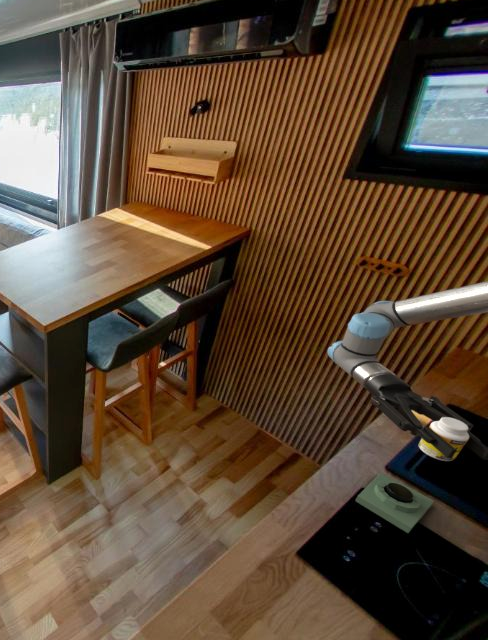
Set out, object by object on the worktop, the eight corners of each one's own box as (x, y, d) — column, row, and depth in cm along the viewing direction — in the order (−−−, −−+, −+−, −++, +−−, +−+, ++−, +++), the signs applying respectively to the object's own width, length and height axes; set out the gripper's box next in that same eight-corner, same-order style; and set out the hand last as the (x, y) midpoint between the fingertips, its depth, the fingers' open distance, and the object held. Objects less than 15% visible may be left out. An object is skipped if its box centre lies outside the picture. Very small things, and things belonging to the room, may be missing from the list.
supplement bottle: (438, 464, 86) (457, 435, 81) (410, 444, 91) (427, 416, 86) (462, 460, 86) (483, 431, 81) (432, 441, 91) (450, 412, 86)
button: (389, 484, 90) (392, 479, 89) (413, 497, 87) (416, 493, 86) (381, 492, 89) (384, 488, 88) (405, 506, 85) (408, 501, 85)
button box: (377, 477, 95) (383, 467, 93) (430, 506, 87) (437, 496, 86) (355, 501, 91) (360, 491, 89) (408, 533, 84) (415, 523, 82)
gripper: (417, 393, 100) (516, 468, 80) (337, 392, 105) (411, 463, 85) (429, 372, 97) (534, 446, 77) (345, 372, 102) (424, 441, 82)
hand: (469, 454), depth 81 cm, fingers closed on supplement bottle, 6 cm apart
